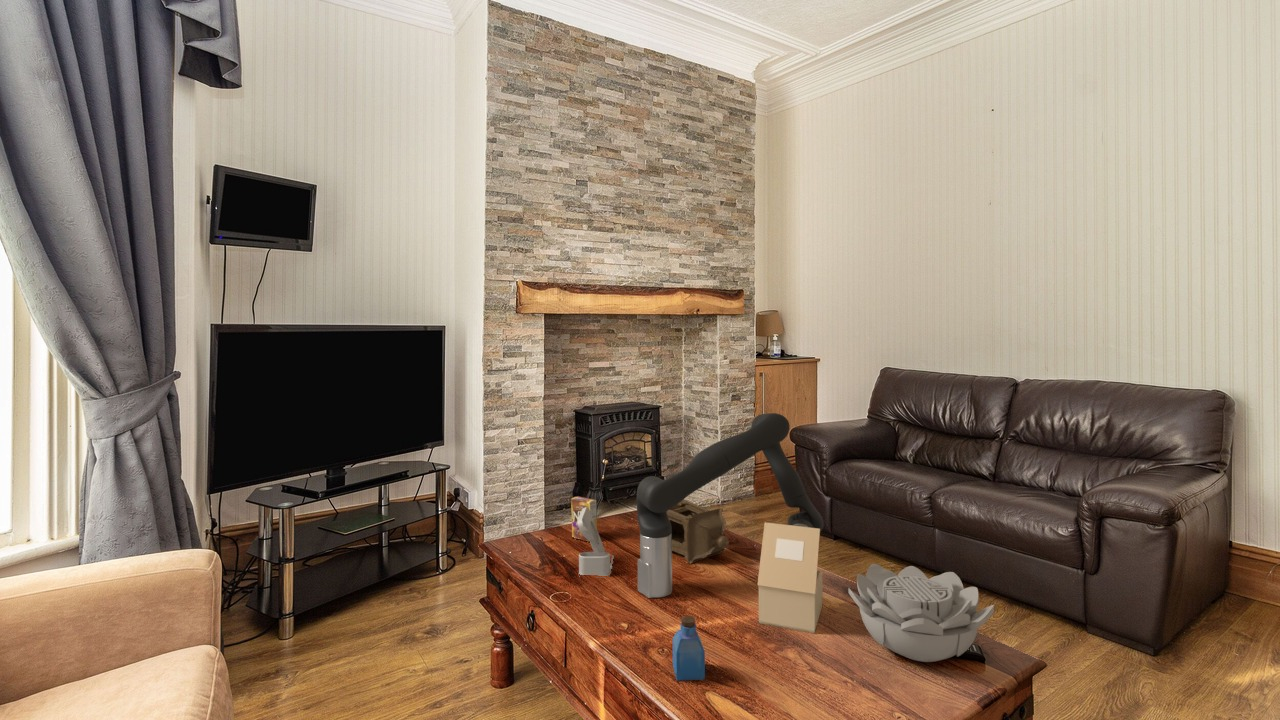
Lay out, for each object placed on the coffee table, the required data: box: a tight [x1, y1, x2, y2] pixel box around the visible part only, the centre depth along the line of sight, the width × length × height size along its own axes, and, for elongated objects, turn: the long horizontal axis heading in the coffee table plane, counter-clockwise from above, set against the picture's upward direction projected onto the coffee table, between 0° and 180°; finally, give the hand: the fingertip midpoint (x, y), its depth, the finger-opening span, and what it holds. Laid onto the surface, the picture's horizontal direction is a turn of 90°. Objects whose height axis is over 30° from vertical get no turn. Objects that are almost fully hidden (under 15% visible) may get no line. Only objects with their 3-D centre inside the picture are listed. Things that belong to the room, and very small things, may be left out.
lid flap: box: [757, 521, 821, 594], centre depth 157 cm, size 16×14×1 cm
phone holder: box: [577, 507, 615, 576], centre depth 196 cm, size 17×10×18 cm, turn 178°
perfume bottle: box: [672, 615, 706, 681], centre depth 135 cm, size 6×6×12 cm
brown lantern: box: [667, 498, 730, 565], centre depth 208 cm, size 35×18×18 cm, turn 39°
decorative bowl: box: [848, 563, 995, 663], centre depth 143 cm, size 30×30×15 cm
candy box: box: [570, 495, 598, 541], centre depth 221 cm, size 9×4×15 cm, turn 57°
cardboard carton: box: [758, 569, 823, 634], centre depth 162 cm, size 16×14×10 cm
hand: (789, 562), depth 157 cm, fingers closed
